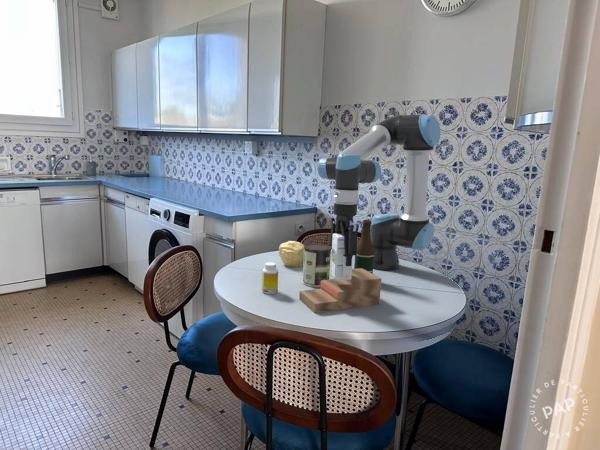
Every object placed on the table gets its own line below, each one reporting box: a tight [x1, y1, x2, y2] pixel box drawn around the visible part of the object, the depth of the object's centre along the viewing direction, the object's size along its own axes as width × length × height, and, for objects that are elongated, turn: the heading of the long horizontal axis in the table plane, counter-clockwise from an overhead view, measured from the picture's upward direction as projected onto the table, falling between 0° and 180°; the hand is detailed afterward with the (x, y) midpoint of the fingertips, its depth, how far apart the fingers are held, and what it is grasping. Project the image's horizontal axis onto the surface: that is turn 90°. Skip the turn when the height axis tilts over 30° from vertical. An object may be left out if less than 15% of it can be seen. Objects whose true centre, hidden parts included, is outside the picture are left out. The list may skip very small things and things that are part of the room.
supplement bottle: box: [261, 261, 279, 295], centre depth 145 cm, size 6×6×10 cm
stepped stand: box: [298, 268, 382, 314], centre depth 139 cm, size 24×12×9 cm, turn 114°
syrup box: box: [330, 233, 354, 280], centre depth 136 cm, size 6×6×14 cm
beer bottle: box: [353, 219, 374, 274], centre depth 161 cm, size 8×8×24 cm
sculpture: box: [278, 240, 305, 268], centre depth 179 cm, size 11×12×11 cm
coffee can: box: [302, 243, 332, 288], centre depth 156 cm, size 10×10×14 cm
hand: (341, 271), depth 137 cm, fingers closed on syrup box, 6 cm apart
